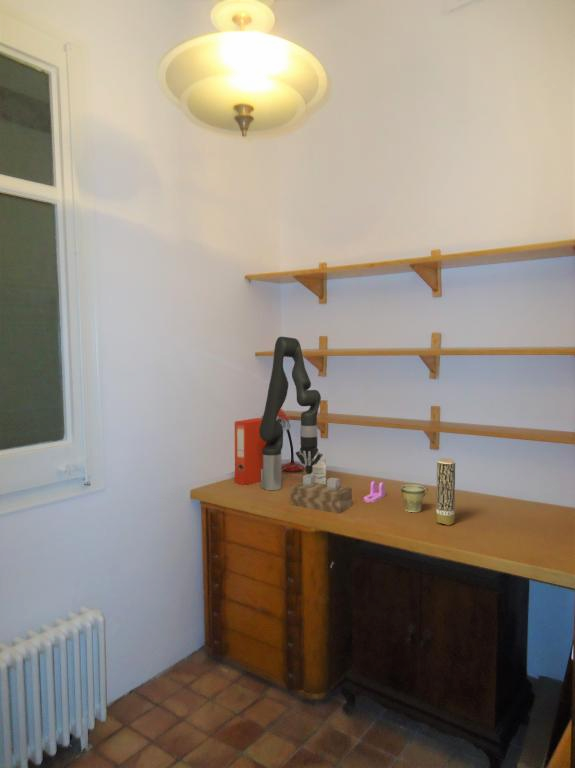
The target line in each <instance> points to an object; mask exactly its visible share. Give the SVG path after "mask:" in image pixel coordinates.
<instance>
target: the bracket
mask: <svg viewBox="0 0 575 768" xmlns="http://www.w3.org/2000/svg"><path fill="white" fill-rule="evenodd" d="M370 482H371V483H370V493H369V494H367V495H365V496H363V502H364V501H365V503H369V502H372V503H376V502H377V500H378V499H379V500H381V499H383V498H384V496H385V497H386V494H385V493H386V484H385V482H383V481H382V482H381V481H380V483H378V484H379V485H378V487H377V481H375V480H371V481H370ZM377 488H378V489H377ZM382 497H383V498H382ZM380 498H381V499H380ZM379 500H378V501H379ZM375 501H376V502H375Z"/></svg>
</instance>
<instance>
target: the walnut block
mask: <svg viewBox="0 0 575 768" xmlns="http://www.w3.org/2000/svg"><path fill="white" fill-rule="evenodd" d="M352 490H353V488H352V487H347V486H341V485H340V489H339V490H338V491H330V490H327V483H326V484H321V483H315V486H314V487H312V488H310V487H303V481H301V482H299V483H296V484H295V485H292V486H290V505H291V504H292V505H291V506H294V505H298V506H297V507H300V506H303V507H302V508H306V507H308V508H307V509H311V508H313V509H312V510H317V509H318V511H324V512H328V513H335V514H342V513H343V512H345V511H346V510H348V509H349V508H351V507H352V505H353V502H352V501H353V500H352V498H353V492H352Z"/></svg>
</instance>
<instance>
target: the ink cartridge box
mask: <svg viewBox="0 0 575 768" xmlns="http://www.w3.org/2000/svg"><path fill="white" fill-rule="evenodd" d="M315 458H316V457H314V460H315ZM314 460H313V461H314ZM309 475H315V483H321V484H327V465H326V458H320V460H319V461H318V462H317V464H314V465H313V472H312V473H311V474H309Z"/></svg>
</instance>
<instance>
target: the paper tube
mask: <svg viewBox="0 0 575 768" xmlns="http://www.w3.org/2000/svg"><path fill="white" fill-rule="evenodd" d="M455 482H456V460H455V459H450V458H439V459H437V460H436V506H435V507H436V509H435V511H436V513H435V514H436V517H435V518H436V520H435V521H436V523H437V522H439V523H443V524H451V523H455V509H456V508H455V504H456V503H455V501H456V498H455V497H456V493H455V492H456V483H455ZM439 523H438V524H439Z"/></svg>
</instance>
